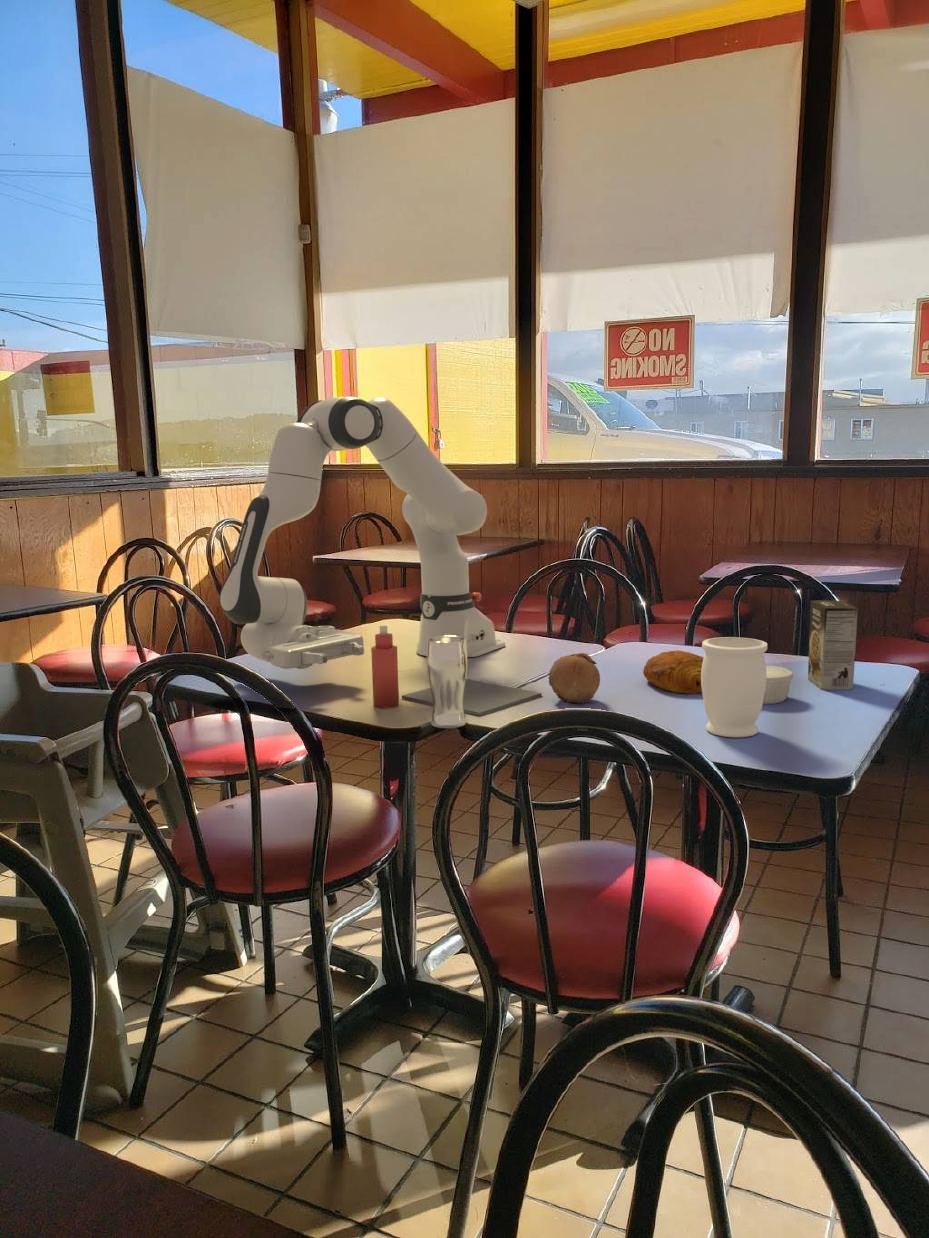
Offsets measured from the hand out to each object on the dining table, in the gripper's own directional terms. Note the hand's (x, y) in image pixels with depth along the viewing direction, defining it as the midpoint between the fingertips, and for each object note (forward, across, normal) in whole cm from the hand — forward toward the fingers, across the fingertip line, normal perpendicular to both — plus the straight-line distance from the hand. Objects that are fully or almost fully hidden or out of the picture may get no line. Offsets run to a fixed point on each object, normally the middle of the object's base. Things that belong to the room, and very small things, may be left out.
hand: (343, 655), depth 185 cm
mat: (+21, +14, +8) cm, 26 cm away
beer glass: (+30, -2, +8) cm, 31 cm away
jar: (+70, +24, +8) cm, 74 cm away
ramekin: (+64, +47, +8) cm, 80 cm away
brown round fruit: (+38, +24, +8) cm, 46 cm away
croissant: (+48, +47, +8) cm, 68 cm away
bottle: (+12, 0, +8) cm, 14 cm away
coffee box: (+70, +65, +8) cm, 96 cm away
